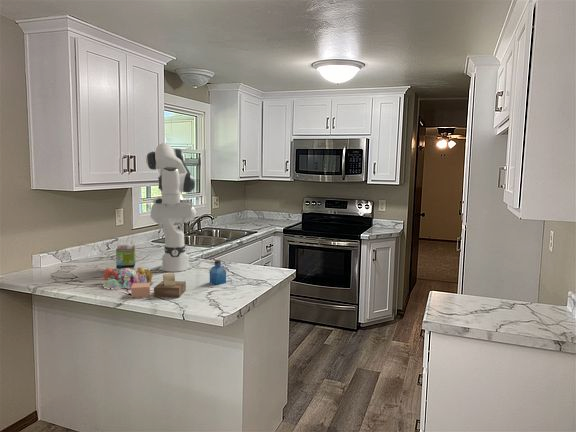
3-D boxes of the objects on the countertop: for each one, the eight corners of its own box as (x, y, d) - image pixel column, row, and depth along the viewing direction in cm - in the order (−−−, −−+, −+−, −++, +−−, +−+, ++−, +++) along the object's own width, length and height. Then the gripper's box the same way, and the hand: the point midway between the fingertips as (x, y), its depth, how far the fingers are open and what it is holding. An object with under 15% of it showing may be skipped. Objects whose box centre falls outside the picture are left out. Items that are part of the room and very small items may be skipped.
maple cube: (163, 283, 218) (163, 273, 217) (173, 282, 219) (173, 272, 219) (164, 286, 213) (164, 276, 212) (175, 285, 215) (174, 275, 214)
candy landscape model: (141, 276, 251) (141, 260, 250) (160, 285, 233) (160, 267, 232) (96, 284, 234) (95, 267, 233) (112, 294, 217) (112, 275, 216)
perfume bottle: (209, 282, 237) (209, 260, 236) (219, 280, 242) (219, 258, 240) (216, 284, 233) (216, 262, 232) (226, 282, 237) (225, 260, 236)
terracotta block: (133, 293, 218) (132, 283, 217) (150, 292, 220) (150, 282, 219) (131, 298, 210) (131, 287, 209) (149, 297, 212) (149, 286, 211)
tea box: (134, 273, 256) (133, 248, 254) (116, 274, 253) (115, 249, 252) (136, 267, 270) (135, 243, 269) (118, 268, 268) (117, 244, 266)
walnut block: (162, 290, 223) (161, 281, 223) (185, 291, 223) (185, 281, 222) (154, 298, 211) (153, 287, 211) (179, 298, 211) (178, 288, 210)
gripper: (192, 198, 228) (192, 225, 230) (150, 199, 223) (151, 226, 225) (192, 199, 222) (193, 227, 224) (149, 200, 217) (150, 228, 219)
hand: (171, 227), depth 224 cm, fingers open, 8 cm apart
